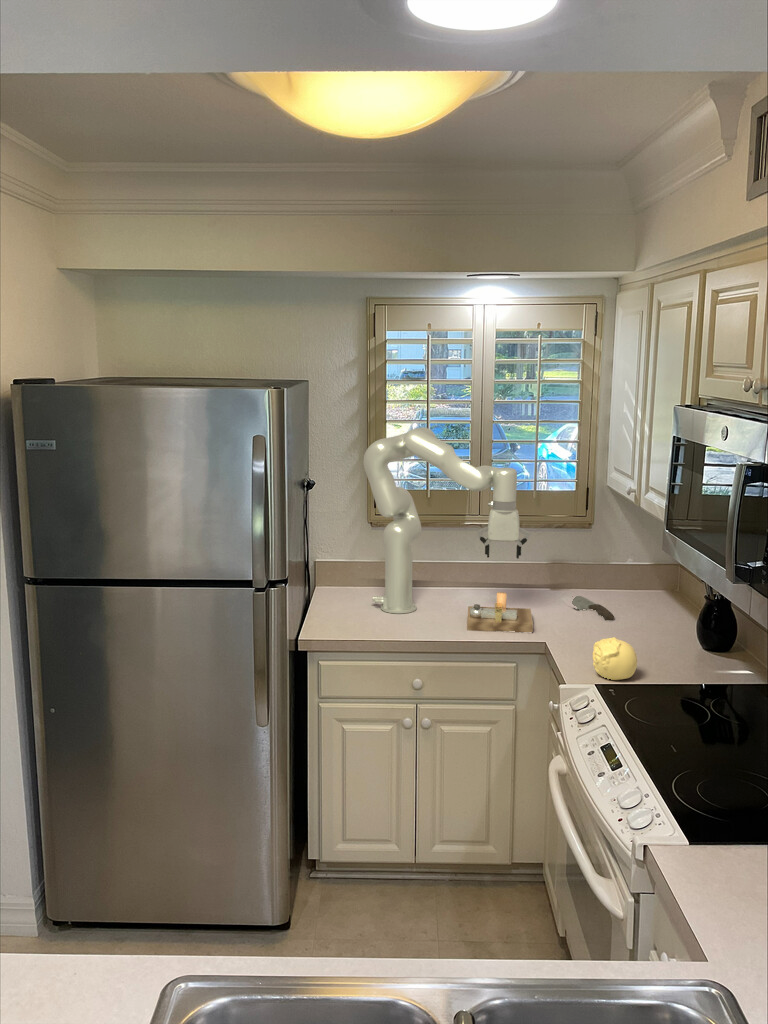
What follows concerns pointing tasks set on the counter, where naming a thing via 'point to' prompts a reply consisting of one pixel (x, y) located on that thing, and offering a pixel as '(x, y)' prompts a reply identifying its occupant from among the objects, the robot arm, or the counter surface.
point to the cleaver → (592, 607)
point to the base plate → (489, 624)
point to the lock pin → (502, 599)
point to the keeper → (498, 612)
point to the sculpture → (614, 659)
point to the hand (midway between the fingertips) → (502, 557)
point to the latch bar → (492, 613)
